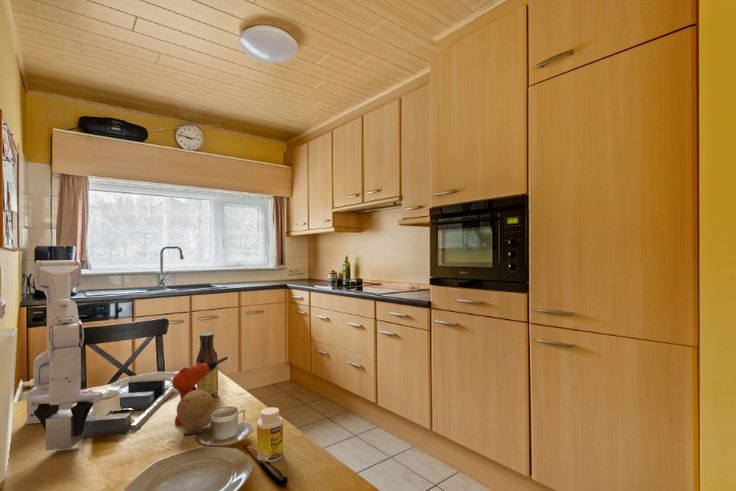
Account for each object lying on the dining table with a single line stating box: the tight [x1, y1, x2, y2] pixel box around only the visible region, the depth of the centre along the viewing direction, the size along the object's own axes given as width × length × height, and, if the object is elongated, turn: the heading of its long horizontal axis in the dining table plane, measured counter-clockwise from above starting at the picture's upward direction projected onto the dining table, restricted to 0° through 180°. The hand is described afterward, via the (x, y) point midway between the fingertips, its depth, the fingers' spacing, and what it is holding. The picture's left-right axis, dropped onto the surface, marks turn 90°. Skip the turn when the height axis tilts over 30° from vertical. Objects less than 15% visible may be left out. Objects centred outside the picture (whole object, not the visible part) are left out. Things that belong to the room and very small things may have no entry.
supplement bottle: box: [256, 407, 284, 464], centre depth 85 cm, size 6×6×10 cm
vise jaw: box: [119, 378, 166, 411], centre depth 117 cm, size 10×12×5 cm
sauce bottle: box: [195, 332, 219, 399], centre depth 121 cm, size 7×6×20 cm
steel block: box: [45, 409, 84, 451], centre depth 89 cm, size 5×5×7 cm
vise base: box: [83, 386, 175, 438], centre depth 110 cm, size 14×30×4 cm, turn 9°
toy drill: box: [171, 356, 229, 427], centre depth 109 cm, size 5×19×15 cm, turn 154°
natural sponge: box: [176, 390, 216, 432], centre depth 99 cm, size 9×9×10 cm
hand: (65, 435), depth 89 cm, fingers closed on steel block, 5 cm apart
